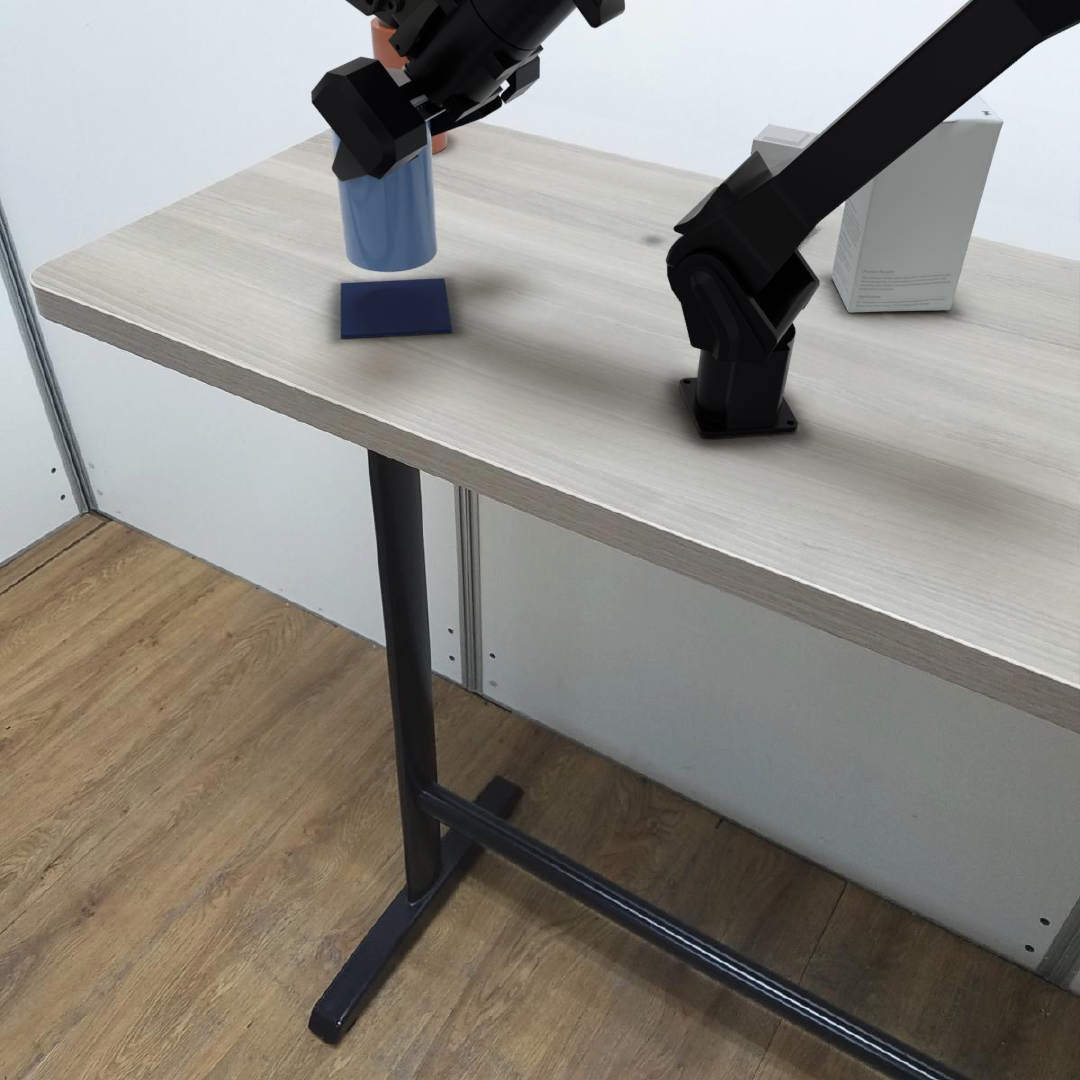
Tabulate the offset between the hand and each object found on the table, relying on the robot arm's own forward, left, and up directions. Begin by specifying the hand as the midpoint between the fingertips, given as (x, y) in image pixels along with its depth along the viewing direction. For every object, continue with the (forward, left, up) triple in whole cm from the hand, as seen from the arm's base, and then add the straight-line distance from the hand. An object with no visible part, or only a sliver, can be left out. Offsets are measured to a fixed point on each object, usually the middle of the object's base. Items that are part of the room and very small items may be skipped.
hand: (367, 157), depth 74 cm
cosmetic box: (-3, -39, -11) cm, 41 cm away
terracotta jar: (+32, -4, -11) cm, 34 cm away
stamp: (+9, -33, -11) cm, 36 cm away
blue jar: (-1, -1, -7) cm, 7 cm away
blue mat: (-1, -1, -11) cm, 11 cm away
